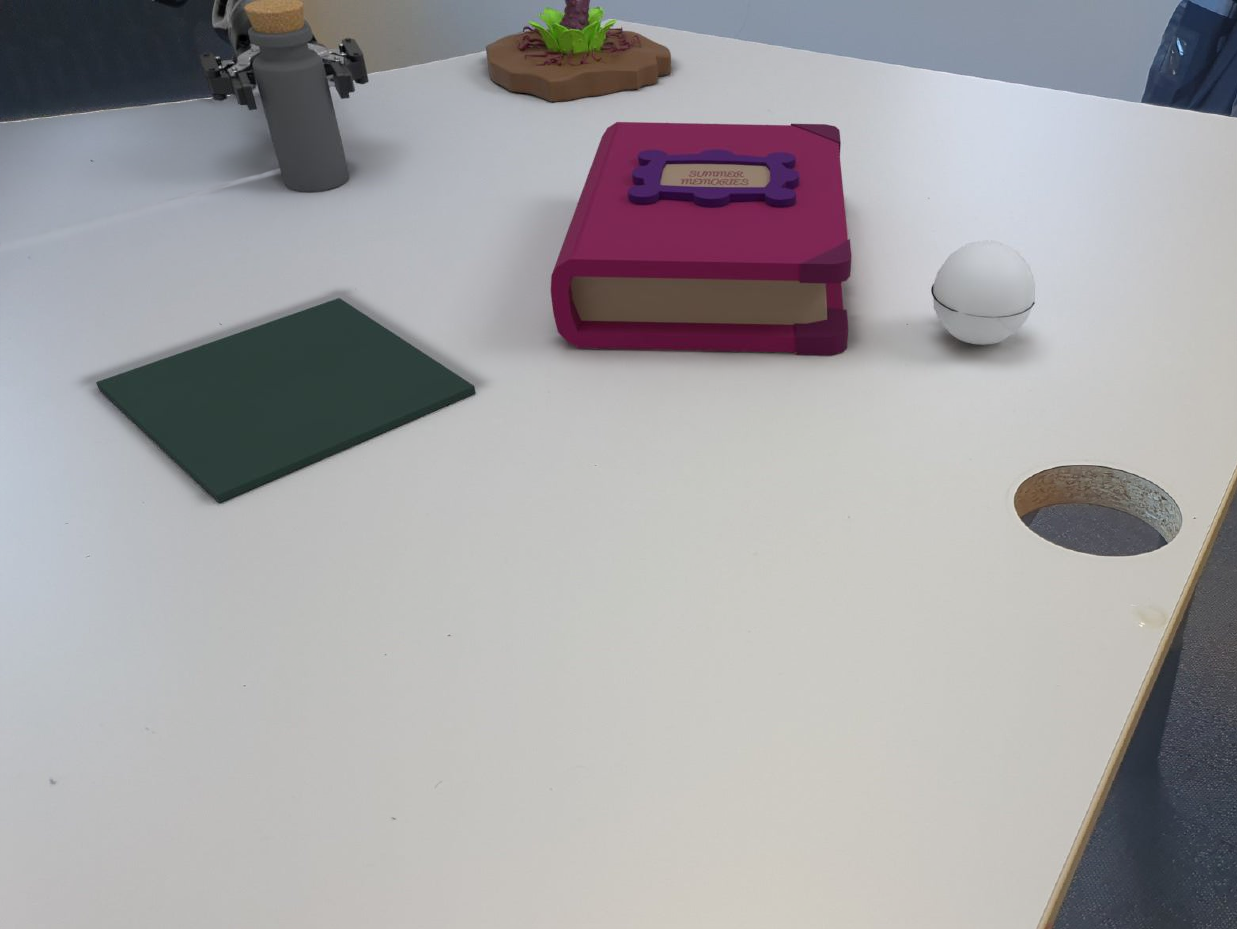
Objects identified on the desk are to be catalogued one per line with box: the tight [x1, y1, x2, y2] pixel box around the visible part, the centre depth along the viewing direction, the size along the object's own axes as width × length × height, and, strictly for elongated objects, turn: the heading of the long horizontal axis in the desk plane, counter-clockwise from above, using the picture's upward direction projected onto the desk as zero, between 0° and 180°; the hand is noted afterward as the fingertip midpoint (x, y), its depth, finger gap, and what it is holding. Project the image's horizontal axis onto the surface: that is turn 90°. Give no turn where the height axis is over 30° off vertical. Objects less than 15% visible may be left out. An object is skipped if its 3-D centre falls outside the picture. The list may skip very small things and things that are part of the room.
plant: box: [485, 0, 672, 103], centre depth 127 cm, size 20×20×11 cm
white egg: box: [930, 240, 1036, 346], centre depth 80 cm, size 10×7×7 cm
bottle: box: [244, 0, 350, 193], centre depth 99 cm, size 6×6×15 cm
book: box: [550, 121, 853, 357], centre depth 89 cm, size 21×28×8 cm
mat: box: [95, 297, 477, 504], centre depth 76 cm, size 18×18×1 cm
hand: (296, 92), depth 97 cm, fingers open, 7 cm apart
